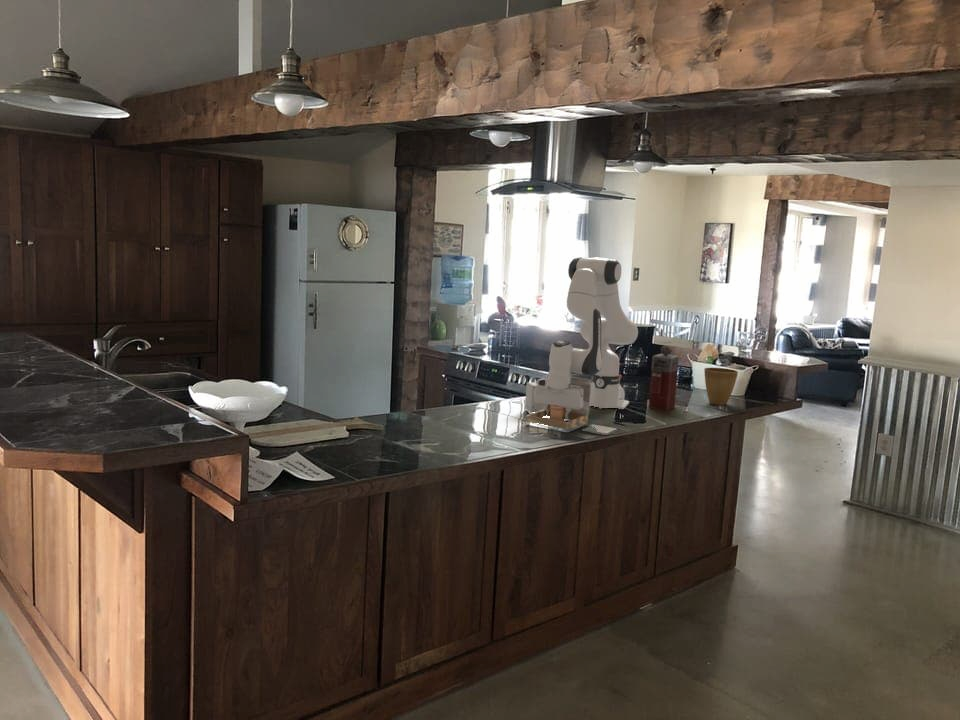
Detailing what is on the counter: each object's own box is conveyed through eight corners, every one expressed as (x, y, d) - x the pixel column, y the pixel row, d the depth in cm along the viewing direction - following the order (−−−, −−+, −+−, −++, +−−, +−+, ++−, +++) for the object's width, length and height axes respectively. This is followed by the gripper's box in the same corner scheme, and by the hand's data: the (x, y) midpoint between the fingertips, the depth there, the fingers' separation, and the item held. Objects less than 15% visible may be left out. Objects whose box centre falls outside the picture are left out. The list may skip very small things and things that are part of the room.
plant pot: (739, 407, 353) (742, 373, 350) (706, 406, 353) (709, 371, 350) (729, 401, 367) (732, 367, 365) (697, 399, 368) (700, 366, 365)
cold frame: (547, 417, 317) (550, 373, 314) (588, 424, 308) (591, 379, 305) (525, 425, 301) (528, 379, 298) (567, 433, 292) (570, 386, 289)
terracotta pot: (553, 422, 308) (554, 402, 307) (567, 424, 305) (568, 405, 304) (546, 425, 303) (547, 405, 302) (560, 427, 300) (561, 407, 299)
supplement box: (530, 415, 319) (532, 385, 317) (524, 411, 326) (526, 381, 324) (547, 415, 321) (549, 385, 319) (541, 411, 328) (542, 381, 326)
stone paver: (592, 426, 304) (592, 424, 304) (616, 431, 299) (616, 428, 299) (581, 431, 295) (581, 429, 295) (606, 435, 290) (606, 433, 290)
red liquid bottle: (646, 408, 343) (651, 345, 339) (655, 404, 353) (660, 343, 348) (665, 411, 339) (670, 347, 334) (674, 407, 348) (679, 345, 344)
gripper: (587, 385, 299) (585, 420, 301) (540, 378, 309) (538, 412, 311) (580, 387, 293) (578, 423, 296) (532, 380, 304) (530, 414, 306)
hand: (557, 417), depth 304 cm, fingers closed on terracotta pot, 6 cm apart
